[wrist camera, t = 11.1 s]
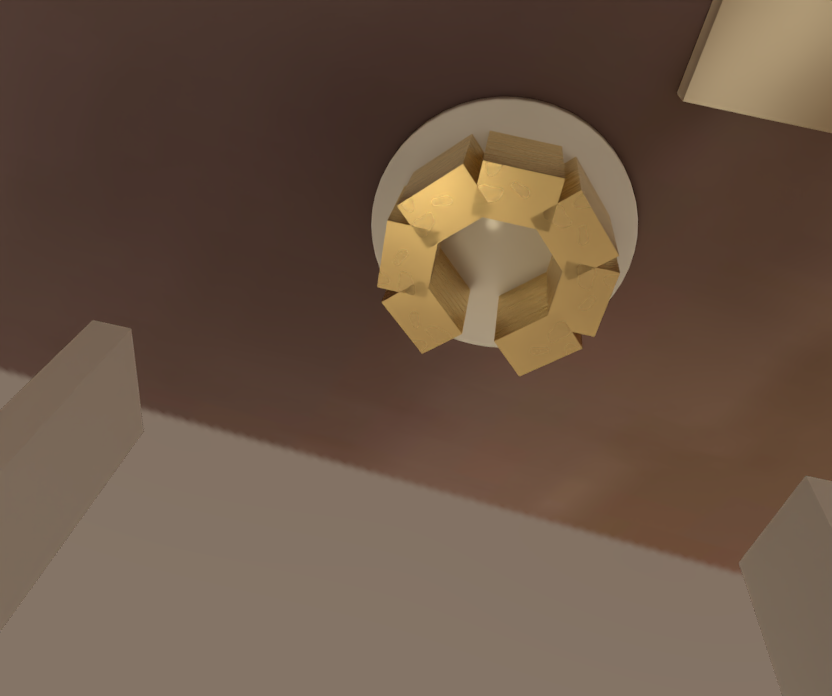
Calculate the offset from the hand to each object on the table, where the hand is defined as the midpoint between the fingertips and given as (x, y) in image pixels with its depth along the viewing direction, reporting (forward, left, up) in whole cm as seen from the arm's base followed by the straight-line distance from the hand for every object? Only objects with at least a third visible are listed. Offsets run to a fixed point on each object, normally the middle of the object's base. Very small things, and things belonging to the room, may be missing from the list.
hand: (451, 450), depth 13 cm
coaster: (0, 0, -12) cm, 12 cm away
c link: (0, 0, -11) cm, 11 cm away
